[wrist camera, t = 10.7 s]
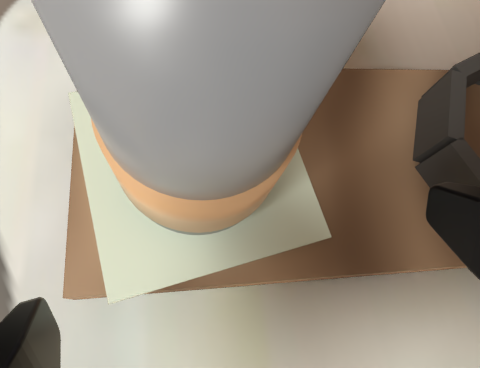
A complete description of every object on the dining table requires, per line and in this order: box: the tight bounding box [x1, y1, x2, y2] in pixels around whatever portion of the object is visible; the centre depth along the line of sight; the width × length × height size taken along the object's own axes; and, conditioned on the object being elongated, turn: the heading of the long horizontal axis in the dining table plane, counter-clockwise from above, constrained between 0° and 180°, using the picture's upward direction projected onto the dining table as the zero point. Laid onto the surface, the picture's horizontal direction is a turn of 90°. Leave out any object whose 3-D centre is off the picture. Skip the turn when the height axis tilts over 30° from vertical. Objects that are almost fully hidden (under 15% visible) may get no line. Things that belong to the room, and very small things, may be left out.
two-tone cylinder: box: [31, 0, 385, 235], centre depth 10 cm, size 6×6×11 cm
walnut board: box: [63, 69, 480, 300], centre depth 17 cm, size 25×10×2 cm, turn 95°
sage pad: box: [68, 91, 332, 304], centre depth 16 cm, size 9×9×1 cm
